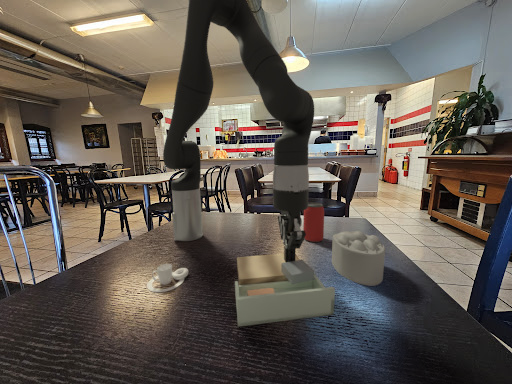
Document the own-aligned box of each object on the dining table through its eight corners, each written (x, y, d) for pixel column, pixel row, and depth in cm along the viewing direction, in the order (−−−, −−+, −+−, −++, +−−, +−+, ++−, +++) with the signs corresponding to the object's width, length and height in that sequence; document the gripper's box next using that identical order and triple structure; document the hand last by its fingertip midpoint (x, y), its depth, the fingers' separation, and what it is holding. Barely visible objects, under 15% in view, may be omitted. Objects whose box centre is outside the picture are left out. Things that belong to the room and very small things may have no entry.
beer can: (324, 243, 69) (325, 206, 67) (303, 242, 71) (304, 206, 69) (322, 235, 76) (323, 202, 74) (303, 234, 77) (303, 201, 75)
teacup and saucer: (190, 272, 54) (188, 256, 54) (185, 291, 47) (184, 273, 46) (152, 275, 53) (151, 260, 52) (141, 296, 45) (139, 278, 44)
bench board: (240, 292, 45) (239, 279, 44) (237, 268, 55) (236, 257, 54) (308, 285, 47) (309, 272, 47) (294, 263, 57) (294, 252, 56)
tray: (237, 326, 36) (236, 299, 35) (235, 294, 44) (234, 272, 44) (333, 314, 38) (335, 288, 38) (314, 286, 47) (314, 264, 46)
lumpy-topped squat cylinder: (365, 257, 60) (367, 227, 58) (395, 285, 47) (399, 247, 45) (327, 258, 59) (328, 228, 58) (347, 286, 47) (350, 248, 45)
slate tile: (291, 284, 42) (291, 275, 42) (281, 271, 47) (281, 263, 47) (314, 279, 44) (314, 270, 44) (301, 267, 49) (302, 259, 48)
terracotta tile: (247, 290, 41) (247, 299, 42) (250, 308, 37) (251, 318, 37) (272, 287, 42) (272, 296, 43) (279, 304, 37) (279, 315, 38)
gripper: (267, 183, 52) (267, 250, 55) (281, 192, 39) (281, 280, 42) (297, 182, 53) (296, 248, 56) (320, 190, 40) (317, 276, 43)
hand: (289, 261), depth 49 cm, fingers closed
